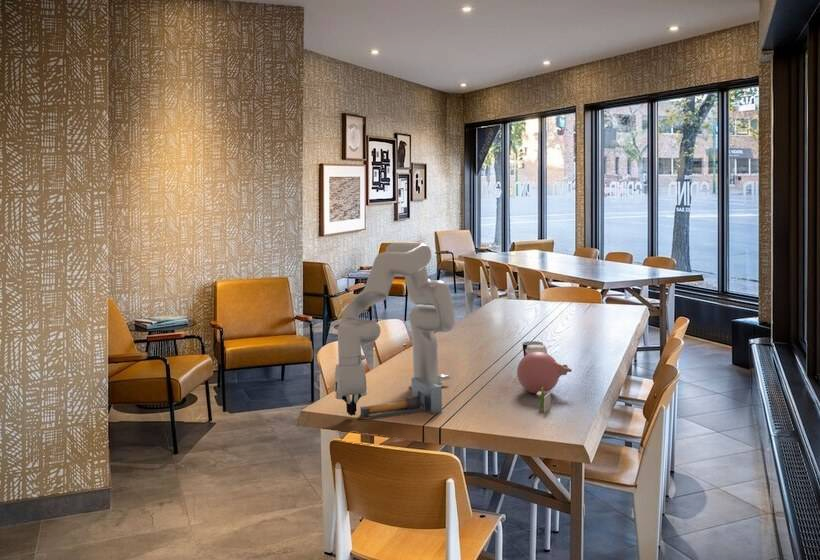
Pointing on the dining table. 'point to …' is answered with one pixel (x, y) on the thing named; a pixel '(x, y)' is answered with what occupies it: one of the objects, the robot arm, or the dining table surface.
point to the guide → (396, 413)
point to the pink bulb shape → (540, 372)
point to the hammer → (392, 406)
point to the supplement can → (535, 348)
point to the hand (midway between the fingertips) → (351, 414)
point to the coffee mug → (529, 344)
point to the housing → (428, 394)
